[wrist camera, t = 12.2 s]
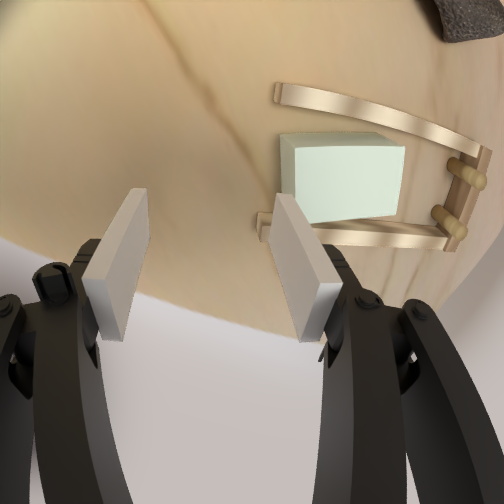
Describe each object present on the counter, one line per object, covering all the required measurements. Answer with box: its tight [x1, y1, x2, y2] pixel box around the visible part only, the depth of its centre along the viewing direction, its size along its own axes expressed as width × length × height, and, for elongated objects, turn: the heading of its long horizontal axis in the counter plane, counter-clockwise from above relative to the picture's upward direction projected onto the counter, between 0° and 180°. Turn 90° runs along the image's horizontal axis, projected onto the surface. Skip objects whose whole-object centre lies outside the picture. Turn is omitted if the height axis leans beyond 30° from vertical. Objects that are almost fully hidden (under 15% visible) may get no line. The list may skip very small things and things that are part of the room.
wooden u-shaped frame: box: [256, 82, 492, 252], centre depth 23 cm, size 24×13×5 cm, turn 83°
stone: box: [434, 0, 504, 43], centre depth 13 cm, size 10×8×10 cm
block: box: [279, 132, 405, 224], centre depth 22 cm, size 9×6×5 cm, turn 94°
